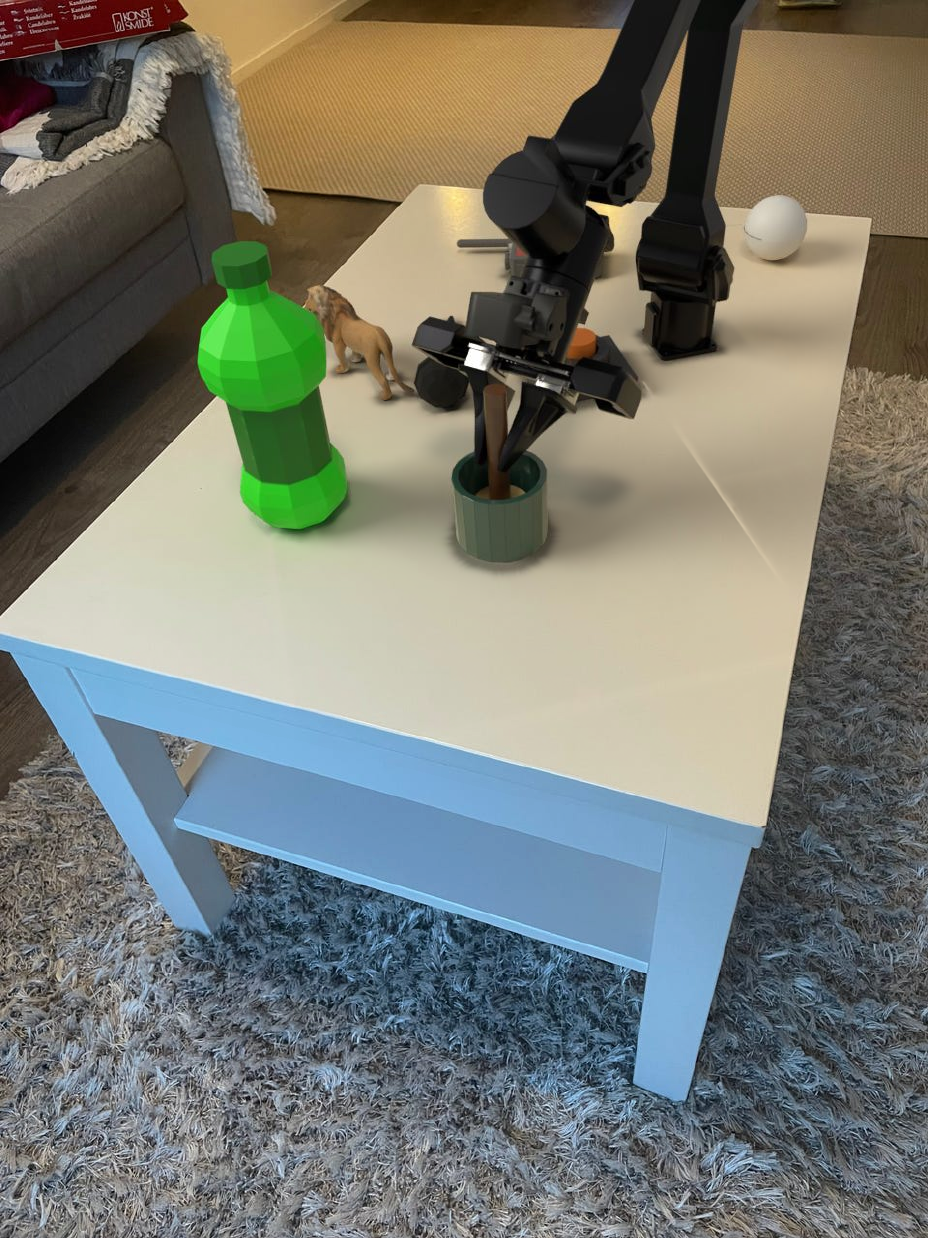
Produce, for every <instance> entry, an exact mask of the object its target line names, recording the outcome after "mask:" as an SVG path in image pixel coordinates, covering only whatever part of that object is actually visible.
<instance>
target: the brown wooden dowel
mask: <svg viewBox="0 0 928 1238" xmlns="http://www.w3.org/2000/svg"><path fill="white" fill-rule="evenodd" d="M483 394H484V411H485V427H486V444H487V460H488V477H489V486H488V487H485V488H483V489H482V490H480V491H479V492H478V493H477V494H476V495H475V496H476V497H478V498H483V499H488V500H505V499H510V498H515V497H518V496H520V495H522V494H525V492H524V491H523V490H522V489H520V488H518V487H516V486H513V485H510V469H509V470H508V471H507V472H506V473H502V472H500V471H498V470H497V466H498V462H499V459H500V455H501V452H502V449H503V446H504V444H505V441H506V439H507V436H508V434H509V419H508V417H509V415H508V411H507V391H506V387H505V386H504V385H501V384H490V385H487V386H486V387H485V388H484V390H483Z"/></svg>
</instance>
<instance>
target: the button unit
mask: <svg viewBox="0 0 928 1238" xmlns="http://www.w3.org/2000/svg"><path fill="white" fill-rule="evenodd" d="M595 335H596V352H595V354H594V355H593V356H591V357H589V358H590V359H594V360H598V361H602V362H605V363H609V364H613V365H617V366H621V367H623V368H624V369H625V370H626V371H627V372H628V373H629V374H630V375H631V376H632V377H633V378H634V379H635V380H636V381H637V382H638V383H639V376H638V374H637V373H636V372H635V370H634V368H632V366H631V364H630V363H629V362H628V360H627V359H626V358H625V356H624V355H623V353H622V351H621V350H620V349H619V347H618V346H617V344H616V343H615V342H614V340H613V339H612V337H611V336H610V335H609V334H608V335H602V336H599V335H597V334H595ZM568 359H570V358H568ZM570 360H571V361H572V362H571V365H570V366H573V367H575V365H576V364H577V363H578V362H579V361H580V360H581V359H570ZM540 371H541V370H540ZM544 372H545V371H544ZM525 379H526V382H527V383H531V384H534V385H535V383H536V381H534V380H531V379H527V378H525ZM590 400H594V398H593V397H591V396H587V395H584V394H580V393H579V395H578V398H577V400H576V403H579V402H584V401H590Z"/></svg>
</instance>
